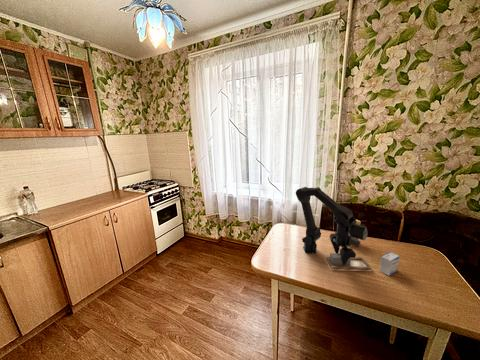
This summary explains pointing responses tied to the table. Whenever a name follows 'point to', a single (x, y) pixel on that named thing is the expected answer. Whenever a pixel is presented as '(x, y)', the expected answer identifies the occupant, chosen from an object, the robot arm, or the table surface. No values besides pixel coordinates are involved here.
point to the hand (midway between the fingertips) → (340, 258)
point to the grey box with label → (337, 259)
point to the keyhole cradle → (351, 265)
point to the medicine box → (389, 263)
